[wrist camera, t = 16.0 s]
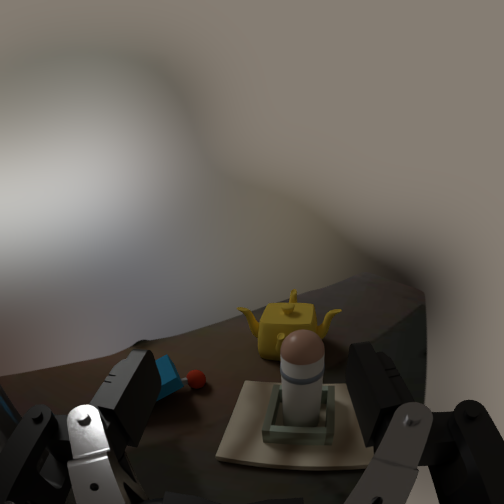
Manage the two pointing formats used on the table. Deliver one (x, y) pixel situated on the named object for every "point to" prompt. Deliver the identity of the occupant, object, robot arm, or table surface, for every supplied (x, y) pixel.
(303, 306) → the teapot
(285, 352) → the brown-capped white canister
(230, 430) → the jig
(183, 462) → the table surface
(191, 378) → the lever
